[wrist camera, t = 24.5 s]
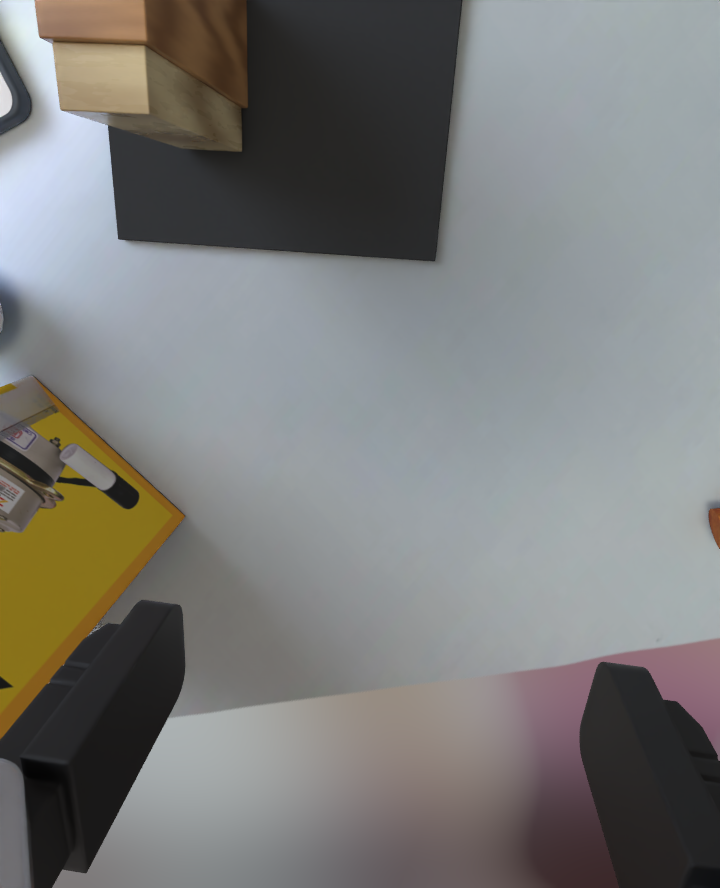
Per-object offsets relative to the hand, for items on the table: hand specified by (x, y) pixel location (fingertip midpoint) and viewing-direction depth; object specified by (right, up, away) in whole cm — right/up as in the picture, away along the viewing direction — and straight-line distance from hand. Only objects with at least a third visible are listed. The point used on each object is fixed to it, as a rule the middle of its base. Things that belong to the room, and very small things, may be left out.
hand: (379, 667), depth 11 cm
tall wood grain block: (-11, +21, +19) cm, 30 cm away
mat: (-6, +27, +25) cm, 37 cm away
